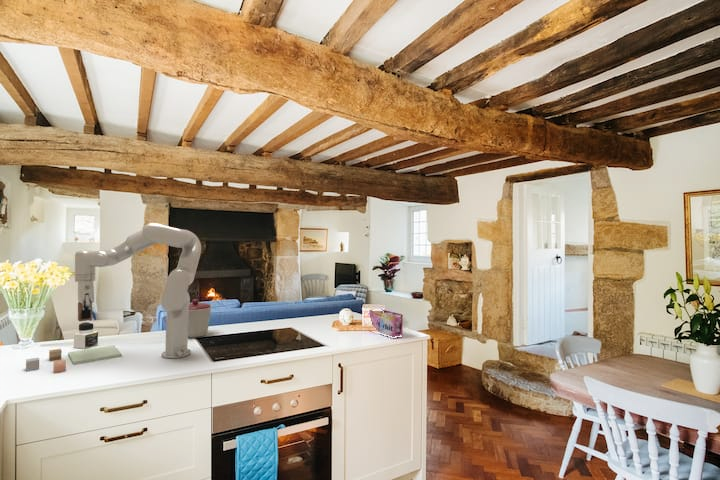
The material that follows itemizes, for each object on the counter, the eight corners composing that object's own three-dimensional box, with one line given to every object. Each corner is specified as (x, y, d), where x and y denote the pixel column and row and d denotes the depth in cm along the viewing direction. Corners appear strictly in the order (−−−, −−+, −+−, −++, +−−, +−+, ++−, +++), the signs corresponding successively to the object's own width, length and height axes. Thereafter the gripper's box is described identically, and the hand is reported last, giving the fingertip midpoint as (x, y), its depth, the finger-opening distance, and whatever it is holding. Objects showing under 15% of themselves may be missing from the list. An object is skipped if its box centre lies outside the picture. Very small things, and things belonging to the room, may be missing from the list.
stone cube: (39, 369, 153) (39, 359, 153) (26, 371, 150) (26, 361, 150) (38, 366, 156) (38, 357, 156) (25, 369, 153) (26, 359, 153)
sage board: (121, 356, 172) (121, 353, 172) (73, 364, 159) (73, 361, 159) (113, 347, 185) (113, 345, 185) (68, 354, 172) (68, 352, 172)
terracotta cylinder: (66, 371, 151) (66, 361, 151) (53, 373, 148) (54, 363, 148) (65, 368, 154) (65, 359, 154) (52, 371, 151) (53, 361, 151)
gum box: (404, 337, 216) (405, 314, 217) (394, 339, 212) (395, 316, 212) (378, 329, 235) (378, 308, 235) (368, 331, 231) (369, 309, 231)
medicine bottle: (85, 349, 181) (85, 324, 181) (73, 347, 183) (73, 323, 183) (98, 345, 188) (98, 321, 188) (86, 344, 190) (87, 320, 190)
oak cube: (61, 359, 166) (61, 350, 166) (49, 361, 163) (50, 352, 163) (60, 357, 169) (60, 348, 169) (49, 359, 166) (49, 350, 166)
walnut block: (91, 319, 168) (91, 302, 168) (79, 321, 164) (79, 303, 164) (89, 318, 171) (89, 301, 171) (77, 319, 168) (77, 302, 168)
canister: (183, 331, 219) (184, 296, 219) (215, 331, 221) (216, 296, 221) (171, 340, 201) (172, 301, 201) (206, 339, 203) (207, 301, 203)
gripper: (98, 278, 164) (98, 319, 164) (91, 275, 176) (91, 313, 176) (77, 279, 159) (77, 322, 159) (72, 276, 171) (71, 316, 171)
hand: (84, 317), depth 168 cm, fingers closed on walnut block, 4 cm apart
